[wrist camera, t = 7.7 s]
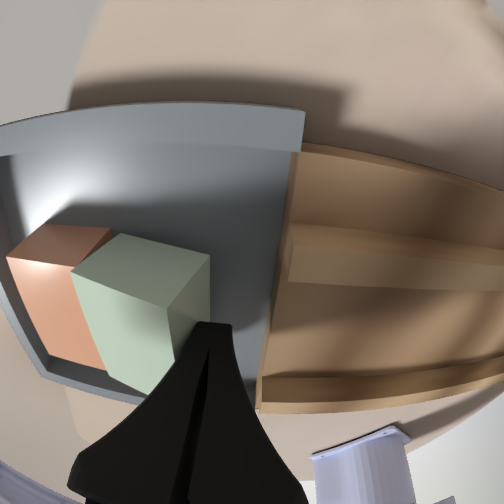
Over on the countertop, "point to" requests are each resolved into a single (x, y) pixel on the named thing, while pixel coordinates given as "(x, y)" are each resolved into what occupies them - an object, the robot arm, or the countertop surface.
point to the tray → (155, 205)
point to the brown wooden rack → (381, 286)
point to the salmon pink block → (57, 287)
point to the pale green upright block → (142, 305)
